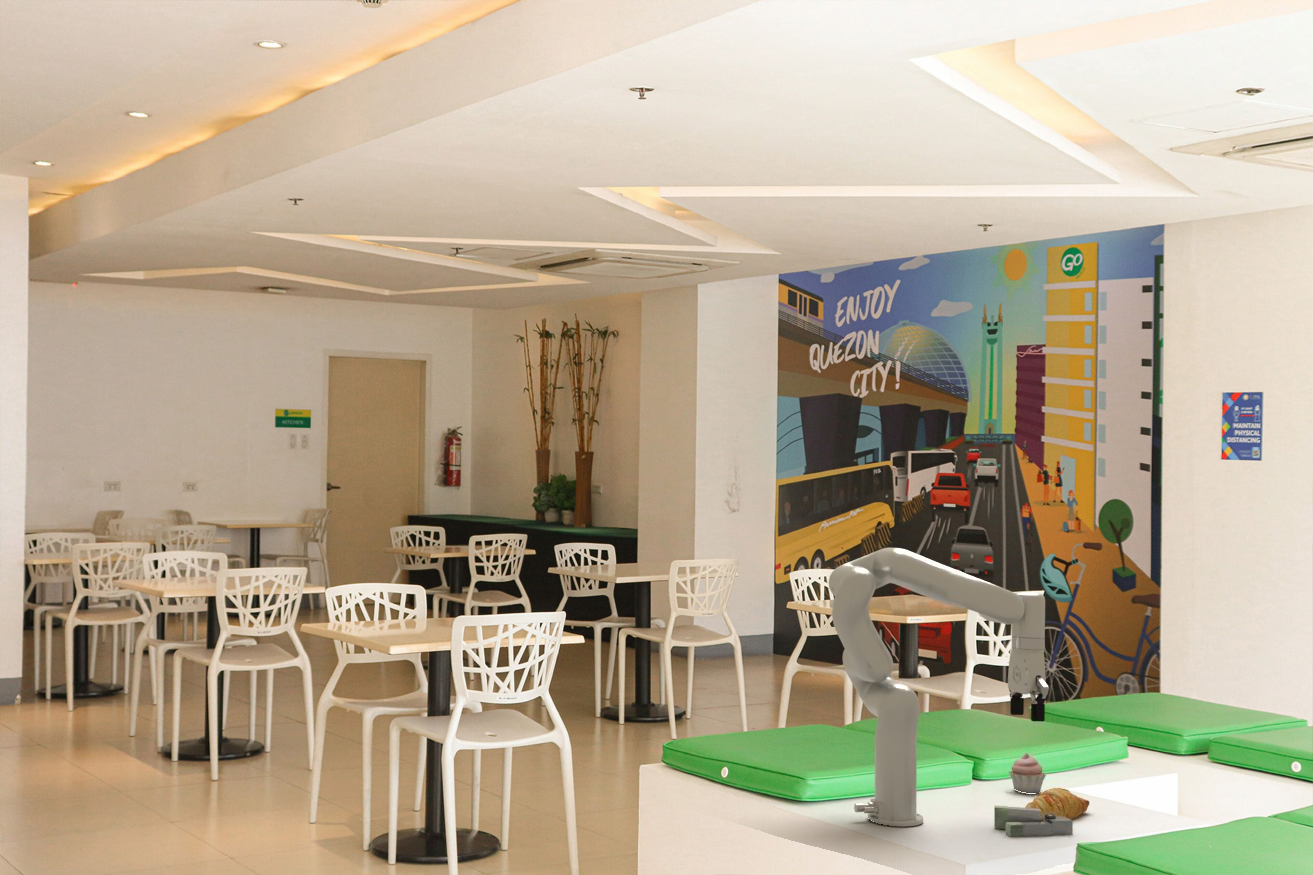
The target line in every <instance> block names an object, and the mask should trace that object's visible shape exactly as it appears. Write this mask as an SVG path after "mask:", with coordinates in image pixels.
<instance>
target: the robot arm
mask: <svg viewBox="0 0 1313 875" xmlns="http://www.w3.org/2000/svg"><path fill="white" fill-rule="evenodd" d="M888 584H894V585H897V586H899V587H902V588H904V589H906V590H909V591H911V592H914V593H916V594H919V595H921V596H923V597H926V598H928V599H931V600H934V601H936V602H939V603H942V604H945V605H948V606H954V607H958V608H964V609H967V610H969V611H973V612H975V613H978V614H979V615H980V617H981V618H983V619H984V620H985V621H988V622H991V623H997V624H998V623H999V624H1003V625H1011V650H1010V655H1009V662H1008V673H1007V675H1008V676H1007V688H1008V690H1009V697H1010V707H1009V708H1010V715H1012V716H1023V715H1025V714H1024V710H1025V705H1024V704H1025V703H1024V702H1025V701H1024V700H1025V697H1023V695H1029V696H1030V698H1031V701H1032V703H1031V704H1030V707H1031V708H1030V720H1031V722H1045V720H1046V716H1045V714H1046V713H1045V712H1046V711H1045V710H1046V703H1047V699H1048V694H1049V690H1050V687H1049V685H1048V684H1047V683H1046V682H1047V681H1046V679H1047V678H1046V663H1045V662H1046V660H1045V648H1046V647H1045V644H1046V642H1045V641H1046V639H1045V636H1046V635H1045V634H1046V633H1045V632H1046V631H1045V630H1046V629H1045V628H1046V597H1045V596H1044V594H1042V593H1040V592H1032V591H1031V592H1030V591H1018V592H1013V591H1011V590H1008V589H1006V588H1004V587H1001V586H998V585H996V584H993V583H991V582H988V581H985V580H983V579H981V578H977V577H975V576H973V575H970V574H967V573H965V572H962V571H961V570H958V569H955V568H953V567H950V566H948V565H945V564H943V563H940V562H937V561H935V560H932V559H930V558H927V557H925V556H923V555H920V554H918V553H916V552H913V551H910V550H908V549H905V548H900V547H883V548H881V549H879V550H876V551H873V552H871V553H869V554H867V555H864V556H862V557H858V558H856V559H854V560H852V561H848V562H846V563H843V564H842V565H841V564H840V565H839V566H837V567H835V569H833V571H832V572H831V573H830V575H829V579H828V588H829V590H830V592H831V595H833V596H834V599H833V603H832V613H831V614H832V615H831V617H832V623H833V626H834V630H835V631H836V634H837V636H838V637H839V640H840V642H841V644H842V647H843V648H844V650H843V652H842V665H843V667H844V669H845V670H844V671H845V672H846V674H847V677H848V679H849V680H850V682H851V683H852V686H853V687H854V689H855V691H856V693H857V694H858V696H859V698H860V699H861V701H862V703H863V705H864V706H865V707H866V709H867V711H869V712H870V713H871V714H872V715H873V716H875V717H877V722H876V728H875V734H874V798H870V801H868V802H867V803H855V804H853V805H854V806H853V810H854V812H855V813H863V814H867V819H868V818H869V819H870V820H872V821H874V822H877V823H878V824H877V823H876V824H877V825H881V824H883V825H882V826H887V825H889V827H902V828H903V827H904V828H905V827H914V826H919V825H921V824H923V823H924V817H923V815H921V814H919V813H917V788H918V787H917V782H918V781H917V779H918V778H917V776H918V775H917V772H918V771H917V763H918V762H917V760H918V757H917V747H918V746H917V745H918V744H917V737H918V727H919V719H920V714H921V713H920V709H921V708H920V707H921V706H920V702H919V698H918V695H917V694H916V692H915V690H914V689H912V688H911V687H910V686H908V685H907V684H905V683H904V682H900V681H898V680H896V679H895V678H894V676H893V670H894V661H893V657H892V655H891V652H890V651H889V650H888V648H887V646H886V645H885V643H884V641H883V640H882V638H881V636H880V634H879V632H878V630H877V629H876V627H875V625H874V622H873V621H872V618H871V615H870V611H869V610H870V603H871V599H872V598H873V596H874V593H875V591H876V589H879V588H881V587H884V586H886V585H888ZM869 819H868V820H869ZM874 822H873V823H874Z"/></svg>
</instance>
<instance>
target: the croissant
mask: <svg viewBox="0 0 1313 875" xmlns="http://www.w3.org/2000/svg"><path fill="white" fill-rule="evenodd" d="M1089 806H1090V800H1087V799H1084V798H1083V797H1078V796H1077V795H1076V794H1073V793H1071V792H1070V791H1069V789H1066V788H1062V787H1053V788H1050V789H1046V790H1043V792H1040V793H1039V795H1038V796H1036V797H1034V799H1033V801H1031V802H1028V803H1026V805H1025V807H1024V808H1037V809H1041V821H1043V817H1045V814H1054V815H1056V816H1064V817H1066V818H1068V819H1071V820H1073V819H1076V818H1077V817H1078V816H1081V815H1082V814H1084V813H1085V812H1087V810H1088V807H1089Z"/></svg>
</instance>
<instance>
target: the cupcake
mask: <svg viewBox="0 0 1313 875" xmlns="http://www.w3.org/2000/svg"><path fill="white" fill-rule="evenodd" d="M1008 774H1009V775H1010V778H1011V781H1012V784H1013V785H1012V786H1013V790H1014V789H1016V790H1018V791H1021V792H1026V793H1038V794H1040V793H1041V791H1042V790H1041V789H1042V787H1043V786H1042V785H1043V783H1044V781H1045V779H1046V776H1047V774H1045V772H1043V766H1042V765H1041V764H1040V763H1039V762H1038V760H1037V759H1036V758H1035V756H1033V755H1031V754H1029V753H1028V752H1026V753H1025V754H1023V755H1022V757H1021V758H1017V759H1015V761H1014V763H1013V764H1012V766H1011V771H1008ZM1039 792H1040V793H1039Z"/></svg>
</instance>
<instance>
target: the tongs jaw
mask: <svg viewBox="0 0 1313 875" xmlns="http://www.w3.org/2000/svg"><path fill="white" fill-rule="evenodd" d="M993 810H994V818H993V819H994V828H995V829H999V830H1000V829H1002V830H1006V822H1019V823H1020V822H1042V820H1041V809H1037V808H1025V807H1018V806H1007V805H994V809H993Z"/></svg>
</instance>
